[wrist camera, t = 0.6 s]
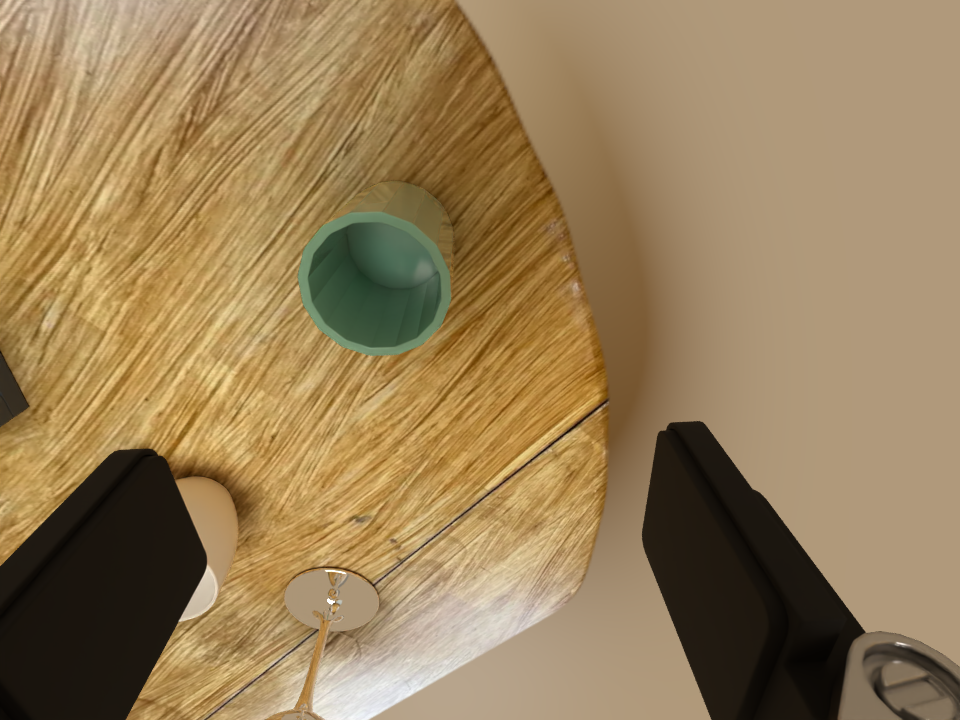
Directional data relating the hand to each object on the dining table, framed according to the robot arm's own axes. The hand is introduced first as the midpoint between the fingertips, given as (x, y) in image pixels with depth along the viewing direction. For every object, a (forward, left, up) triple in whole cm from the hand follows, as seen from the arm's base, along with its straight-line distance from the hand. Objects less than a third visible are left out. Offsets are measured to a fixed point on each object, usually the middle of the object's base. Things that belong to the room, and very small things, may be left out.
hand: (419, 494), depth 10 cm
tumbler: (0, -3, -20) cm, 20 cm away
